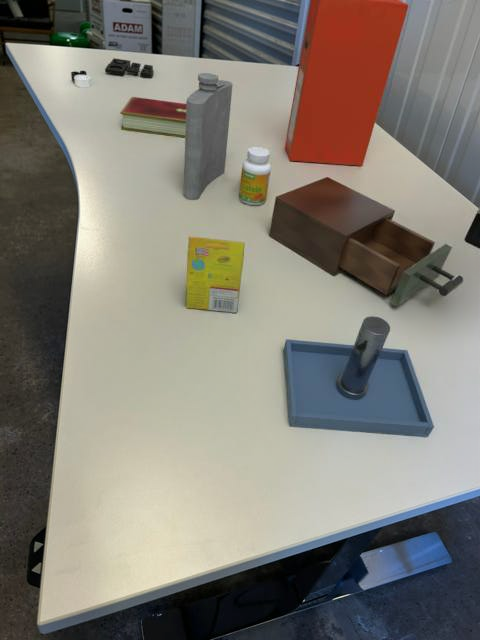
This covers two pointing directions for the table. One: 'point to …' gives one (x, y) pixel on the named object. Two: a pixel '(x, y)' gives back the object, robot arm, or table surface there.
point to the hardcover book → (154, 117)
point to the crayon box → (214, 274)
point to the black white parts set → (113, 71)
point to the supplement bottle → (255, 176)
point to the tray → (346, 414)
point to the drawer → (397, 261)
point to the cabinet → (323, 220)
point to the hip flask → (206, 133)
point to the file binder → (342, 78)
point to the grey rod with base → (363, 358)
